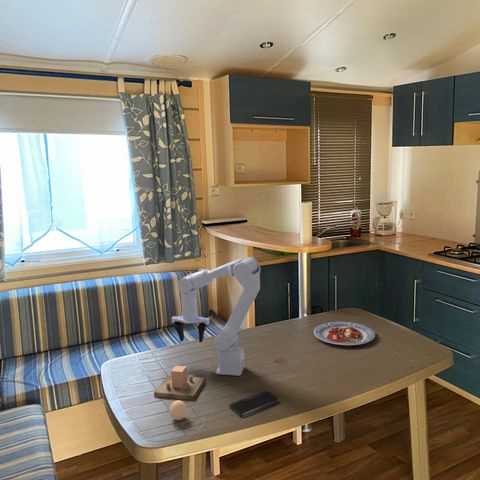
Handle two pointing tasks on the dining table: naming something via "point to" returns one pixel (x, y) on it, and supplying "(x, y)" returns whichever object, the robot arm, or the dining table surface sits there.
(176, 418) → the egg
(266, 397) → the phone
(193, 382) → the peg stand
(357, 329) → the ceramic plate
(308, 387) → the dining table surface
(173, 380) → the pink block
